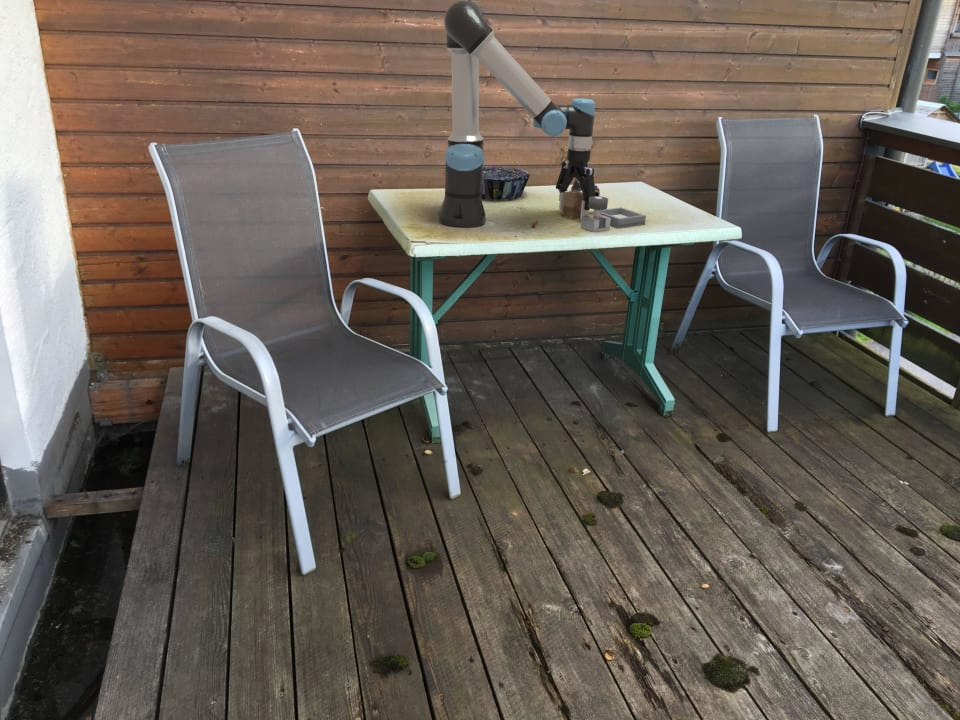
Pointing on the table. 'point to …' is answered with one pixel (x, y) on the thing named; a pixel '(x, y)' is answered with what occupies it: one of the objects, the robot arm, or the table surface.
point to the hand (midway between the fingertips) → (573, 215)
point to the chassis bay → (623, 217)
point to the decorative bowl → (503, 183)
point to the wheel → (597, 204)
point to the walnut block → (572, 204)
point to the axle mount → (596, 223)
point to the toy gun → (577, 187)
